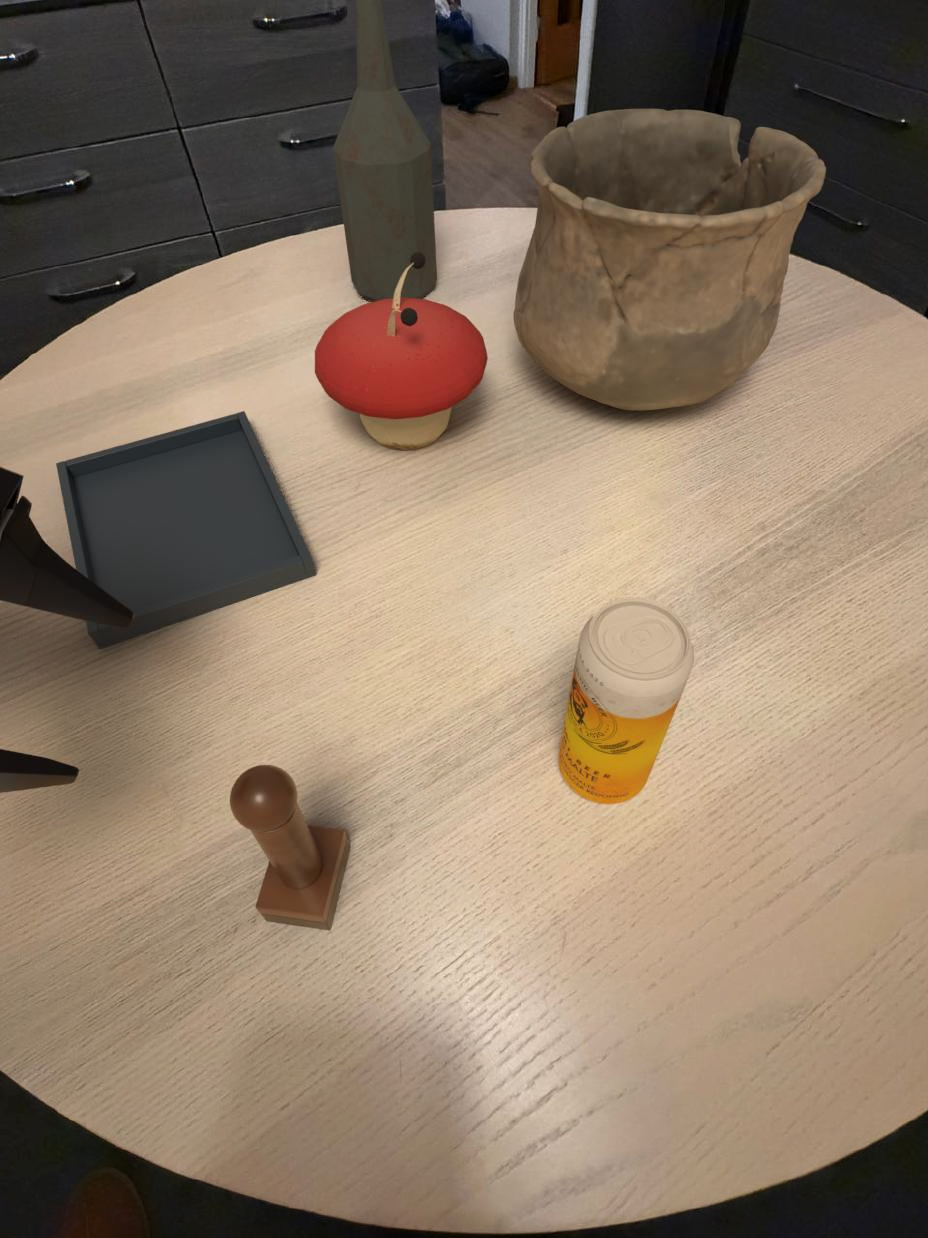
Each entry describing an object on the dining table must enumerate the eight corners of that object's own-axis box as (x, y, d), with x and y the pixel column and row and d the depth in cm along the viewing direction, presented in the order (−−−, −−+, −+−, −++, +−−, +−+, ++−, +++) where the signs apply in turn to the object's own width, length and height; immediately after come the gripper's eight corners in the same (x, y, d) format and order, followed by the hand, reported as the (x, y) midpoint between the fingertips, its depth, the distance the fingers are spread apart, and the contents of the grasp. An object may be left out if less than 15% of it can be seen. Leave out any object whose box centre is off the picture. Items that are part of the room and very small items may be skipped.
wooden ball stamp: (330, 931, 44) (281, 842, 33) (265, 921, 45) (196, 830, 34) (350, 846, 48) (312, 740, 37) (290, 838, 48) (233, 730, 37)
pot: (721, 316, 85) (781, 98, 68) (781, 448, 71) (876, 213, 54) (504, 322, 85) (510, 105, 68) (519, 456, 71) (532, 223, 54)
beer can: (542, 746, 52) (560, 612, 40) (618, 716, 53) (658, 577, 41) (584, 823, 48) (618, 701, 36) (665, 788, 50) (723, 659, 38)
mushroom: (485, 481, 69) (487, 332, 57) (315, 479, 69) (282, 331, 57) (488, 380, 78) (489, 235, 66) (339, 379, 79) (314, 234, 67)
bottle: (436, 264, 94) (421, -52, 70) (438, 305, 88) (423, -26, 64) (354, 267, 94) (311, -48, 70) (350, 309, 88) (303, -21, 64)
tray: (99, 649, 58) (87, 633, 56) (65, 480, 70) (55, 462, 68) (316, 575, 62) (312, 558, 60) (249, 428, 74) (244, 410, 72)
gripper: (-540, 680, 20) (79, 813, 27) (-170, 308, 31) (197, 466, 38) (-435, 820, 27) (29, 896, 34) (-166, 477, 39) (141, 585, 45)
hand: (106, 692), depth 38 cm, fingers open, 9 cm apart
